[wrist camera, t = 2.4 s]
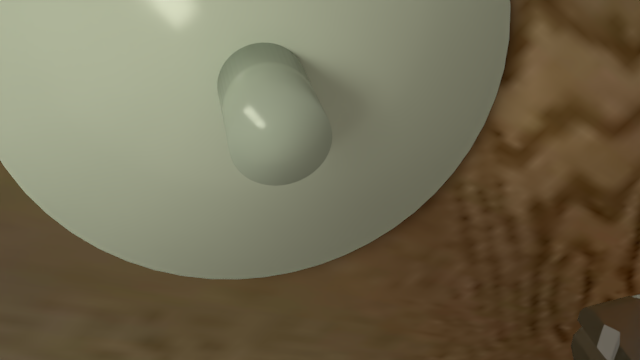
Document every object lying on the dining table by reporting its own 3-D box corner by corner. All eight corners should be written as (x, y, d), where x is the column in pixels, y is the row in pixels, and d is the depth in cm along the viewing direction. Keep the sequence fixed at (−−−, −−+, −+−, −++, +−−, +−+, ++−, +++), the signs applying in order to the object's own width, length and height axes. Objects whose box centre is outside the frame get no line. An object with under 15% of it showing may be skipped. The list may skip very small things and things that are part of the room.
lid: (478, 211, 29) (532, 287, 25) (81, 300, 27) (68, 400, 23) (521, -275, 18) (631, -283, 14) (-159, -195, 16) (-272, -176, 11)
